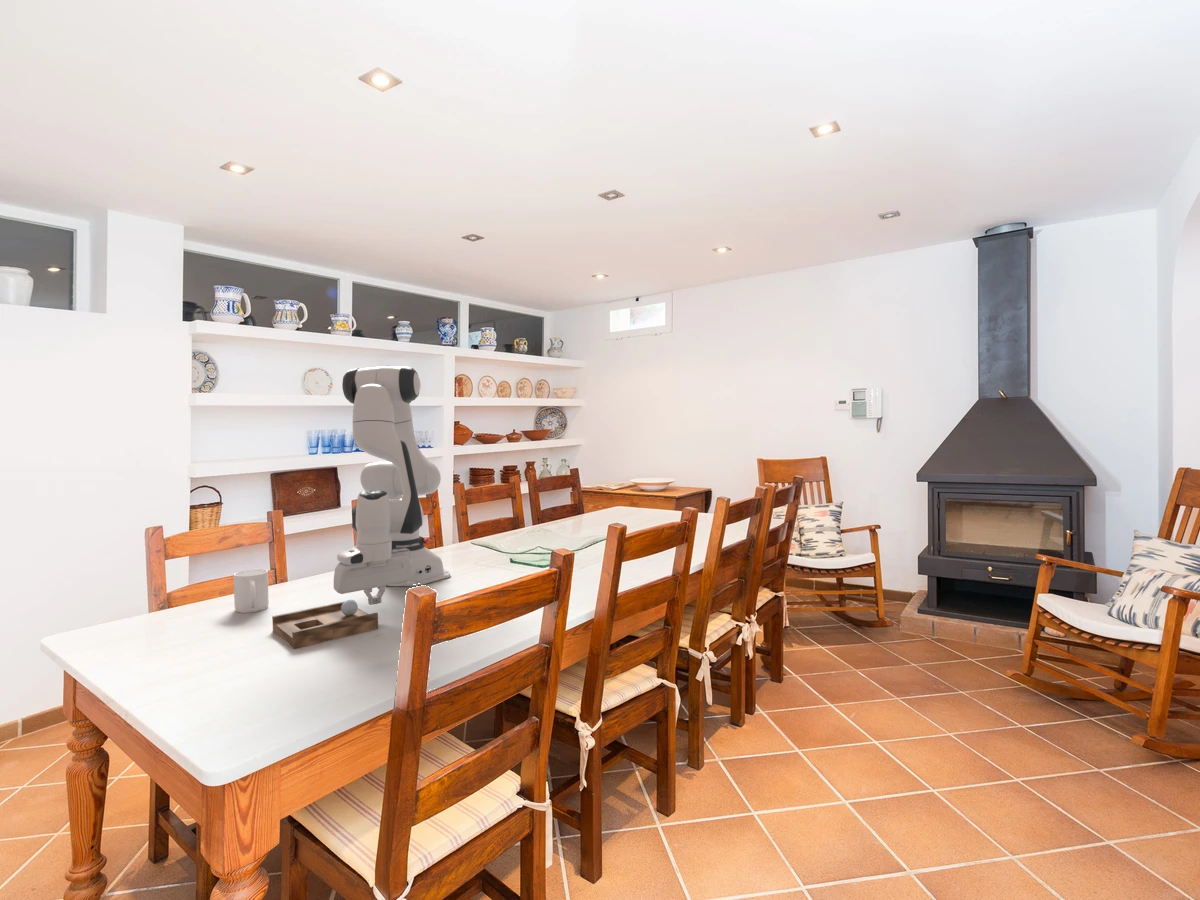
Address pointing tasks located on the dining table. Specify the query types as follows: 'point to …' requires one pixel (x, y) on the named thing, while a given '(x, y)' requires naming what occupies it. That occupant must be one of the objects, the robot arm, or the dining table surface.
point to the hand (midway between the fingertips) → (375, 603)
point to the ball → (349, 607)
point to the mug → (251, 590)
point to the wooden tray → (321, 625)
